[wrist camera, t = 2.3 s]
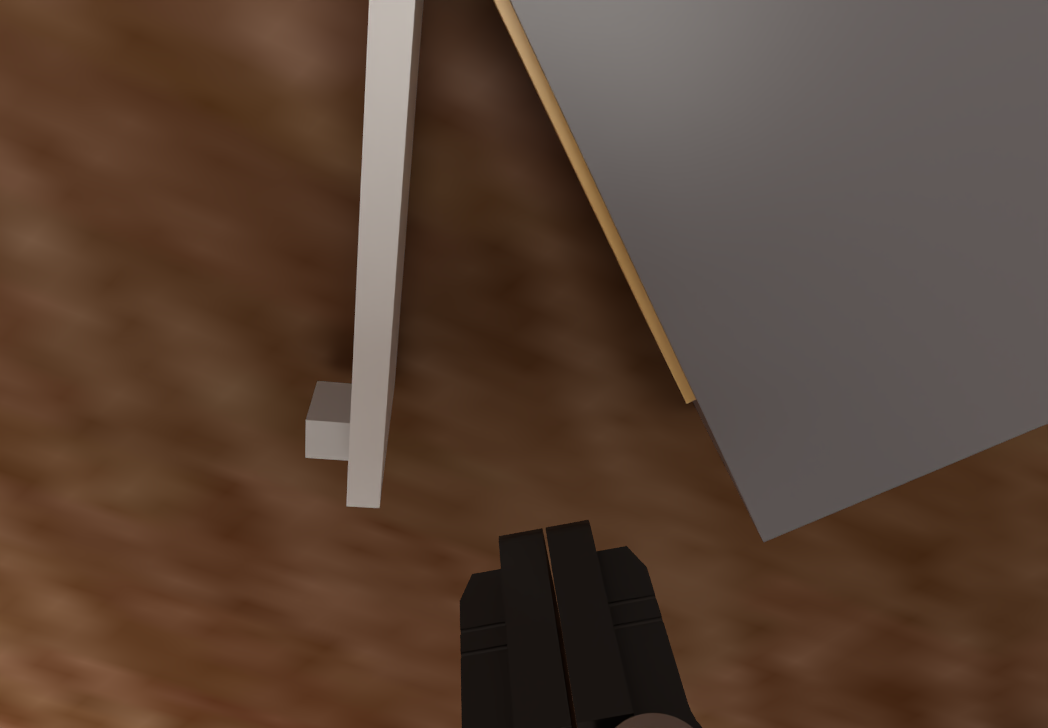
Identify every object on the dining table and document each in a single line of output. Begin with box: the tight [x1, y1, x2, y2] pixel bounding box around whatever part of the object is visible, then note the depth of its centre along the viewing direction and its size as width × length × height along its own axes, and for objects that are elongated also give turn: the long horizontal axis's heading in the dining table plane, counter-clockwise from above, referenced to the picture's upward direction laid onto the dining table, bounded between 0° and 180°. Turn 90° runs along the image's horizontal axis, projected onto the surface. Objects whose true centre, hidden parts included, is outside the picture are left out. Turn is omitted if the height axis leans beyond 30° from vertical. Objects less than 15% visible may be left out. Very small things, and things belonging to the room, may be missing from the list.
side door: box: [305, 0, 424, 508], centre depth 19 cm, size 14×2×6 cm, turn 172°
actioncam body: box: [493, 0, 1048, 542], centre depth 17 cm, size 21×10×7 cm, turn 27°
